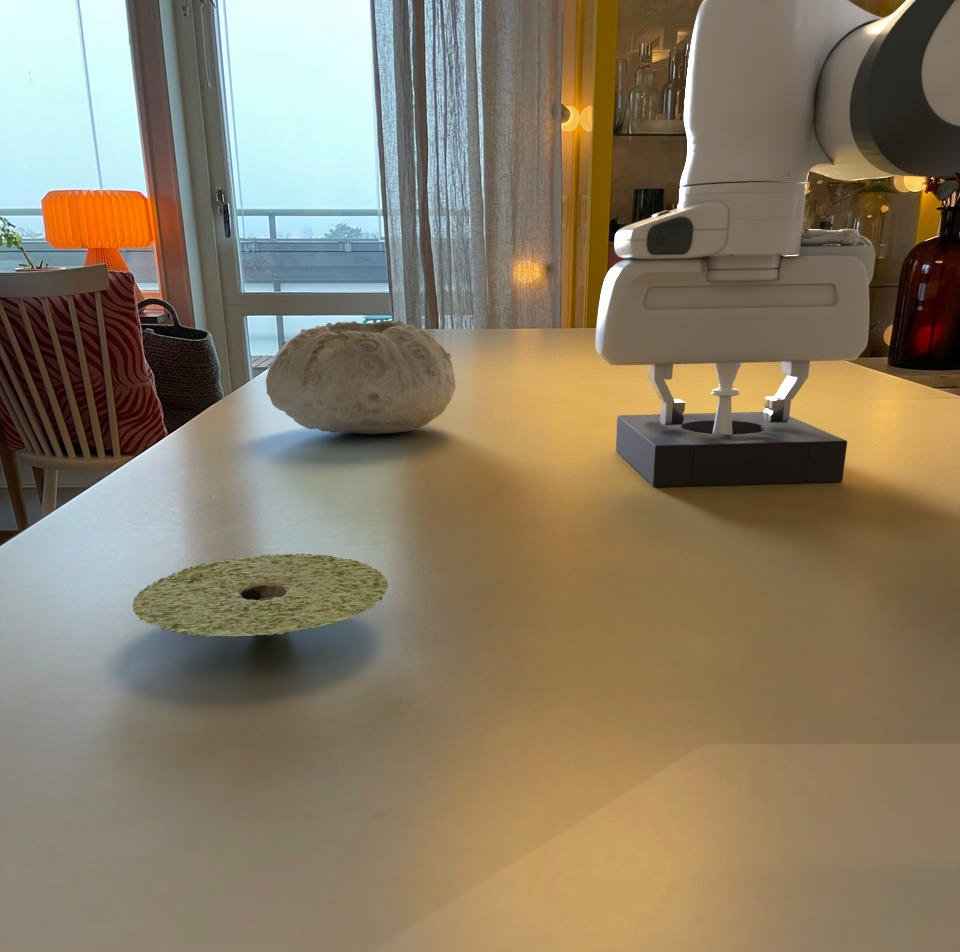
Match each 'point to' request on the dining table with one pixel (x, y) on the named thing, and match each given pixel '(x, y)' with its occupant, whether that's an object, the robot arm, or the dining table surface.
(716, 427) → the chess piece
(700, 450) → the grey block with hole
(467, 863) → the dining table surface
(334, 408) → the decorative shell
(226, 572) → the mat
